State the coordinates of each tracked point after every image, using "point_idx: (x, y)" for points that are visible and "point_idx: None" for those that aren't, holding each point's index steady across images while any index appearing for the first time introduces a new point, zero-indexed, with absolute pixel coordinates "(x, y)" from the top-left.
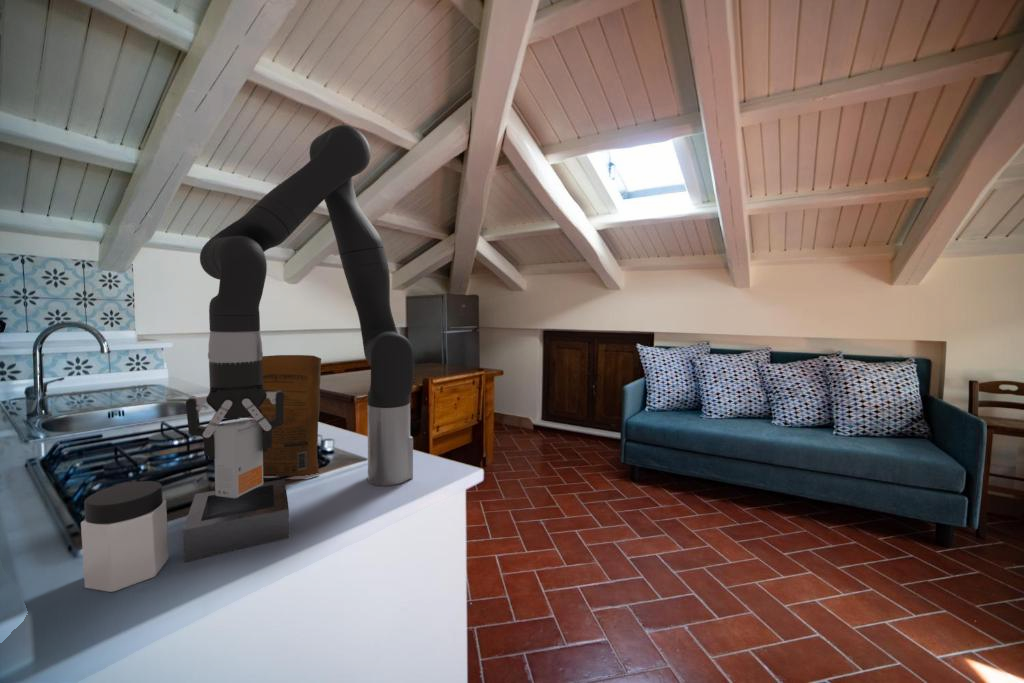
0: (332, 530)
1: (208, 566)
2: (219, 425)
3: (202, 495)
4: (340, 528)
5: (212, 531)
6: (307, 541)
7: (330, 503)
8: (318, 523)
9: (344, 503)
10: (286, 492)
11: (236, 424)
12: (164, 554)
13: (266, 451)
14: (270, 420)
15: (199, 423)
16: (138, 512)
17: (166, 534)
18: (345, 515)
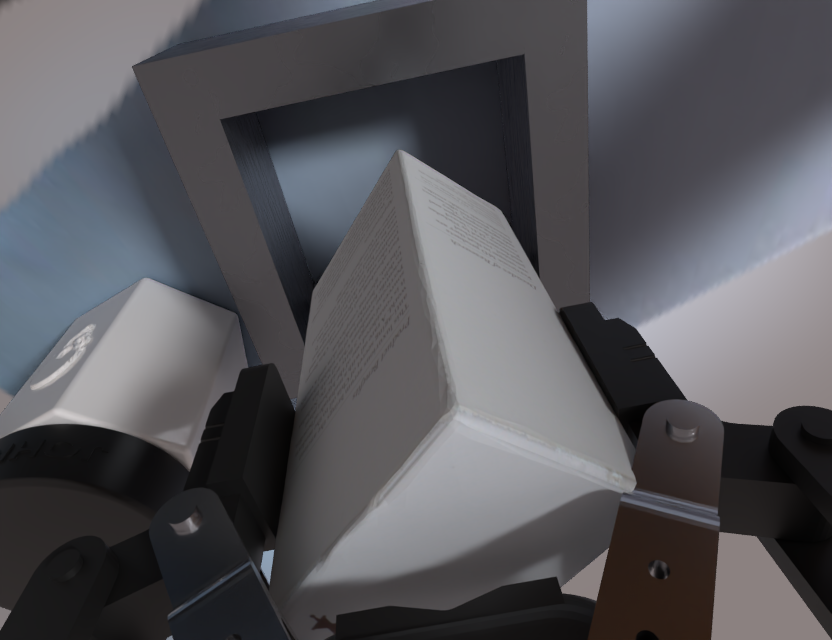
0: (683, 272)
1: None
2: (309, 630)
3: (186, 104)
4: (709, 267)
5: None
6: (605, 314)
7: (734, 36)
8: (652, 213)
9: (787, 58)
10: (588, 185)
11: None
12: (237, 354)
13: None
14: (732, 493)
15: (83, 606)
16: None
17: (222, 371)
18: (752, 178)
